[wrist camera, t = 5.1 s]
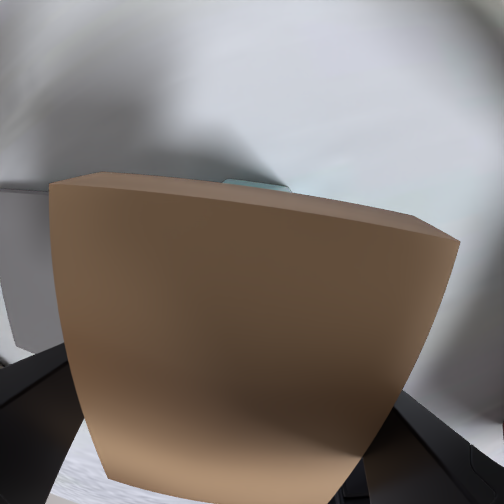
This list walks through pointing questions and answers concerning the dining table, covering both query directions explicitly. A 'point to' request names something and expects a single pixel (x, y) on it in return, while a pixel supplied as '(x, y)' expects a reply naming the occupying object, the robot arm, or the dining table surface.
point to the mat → (28, 270)
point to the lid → (237, 330)
